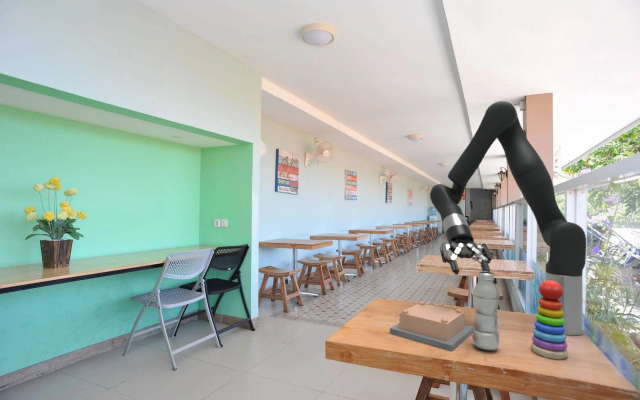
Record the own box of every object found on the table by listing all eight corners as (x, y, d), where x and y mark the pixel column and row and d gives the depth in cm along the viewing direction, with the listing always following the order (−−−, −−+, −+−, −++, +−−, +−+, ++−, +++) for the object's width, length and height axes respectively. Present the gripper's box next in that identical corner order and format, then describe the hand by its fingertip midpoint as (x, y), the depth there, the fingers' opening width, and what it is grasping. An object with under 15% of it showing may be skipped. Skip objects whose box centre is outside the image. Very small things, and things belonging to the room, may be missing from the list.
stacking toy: (527, 352, 87) (527, 279, 87) (535, 344, 93) (535, 275, 93) (564, 363, 81) (564, 285, 82) (570, 353, 87) (570, 280, 87)
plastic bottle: (467, 347, 90) (468, 272, 90) (478, 341, 94) (479, 269, 94) (493, 356, 85) (493, 276, 85) (503, 348, 89) (504, 272, 90)
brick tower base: (416, 318, 113) (416, 297, 113) (473, 332, 101) (473, 309, 101) (389, 333, 99) (390, 310, 99) (452, 351, 87) (452, 324, 87)
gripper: (438, 222, 107) (451, 265, 96) (483, 223, 107) (501, 266, 95) (432, 238, 112) (444, 280, 101) (475, 238, 112) (492, 281, 100)
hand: (472, 273), depth 98 cm, fingers open, 8 cm apart
